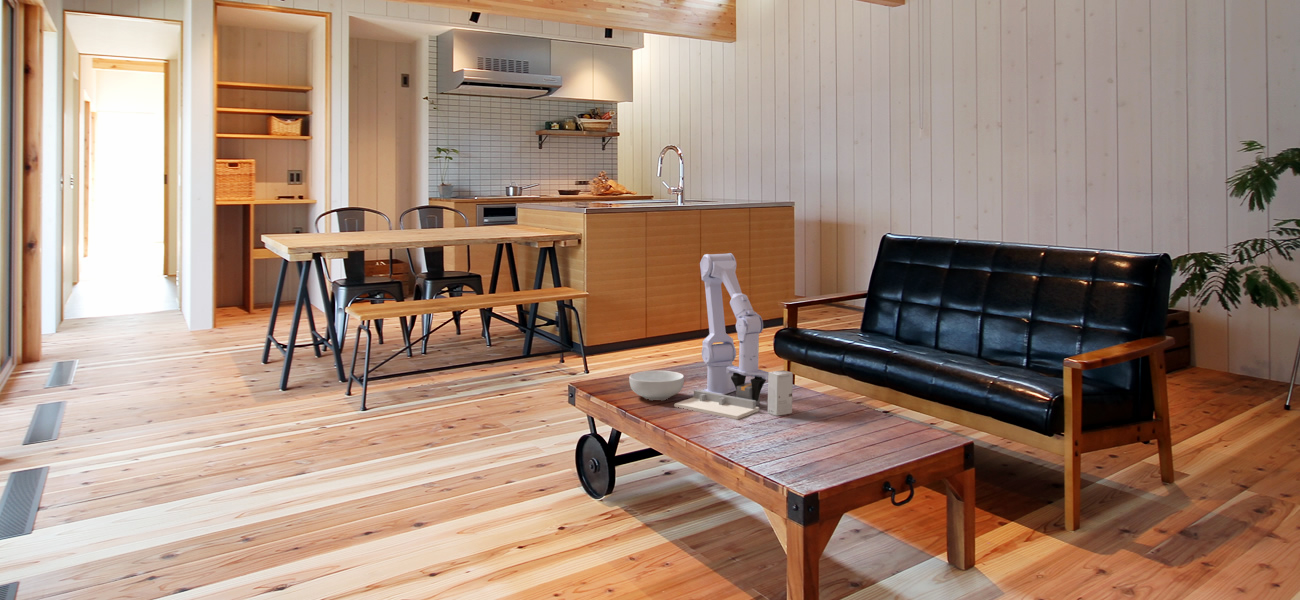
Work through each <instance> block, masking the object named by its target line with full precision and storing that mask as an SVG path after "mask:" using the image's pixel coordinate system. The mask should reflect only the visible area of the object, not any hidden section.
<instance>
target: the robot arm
mask: <svg viewBox="0 0 1300 600" xmlns="http://www.w3.org/2000/svg"><path fill="white" fill-rule="evenodd" d="M737 265H738V264H737V259H736V258H735V255H734V254H733V253H731V252H729V253H715V254H714V253H712V254H711V253H710V254H709V253H706V254H705V253H704V255H703V256H702V258H701V260H700V262H699V267H700V276H701V281H703V283H704V288H705V289H704V291H705V299H706V311H707V321H708V332H709V333H708V335H707V336H706V337H705V338H704V339H703V340H702V349H701V357H702V360H703V363H704V364H705V365H707V366H706V367H707V369H706V370H707V374H706V375H707V376H706V380H707V381H706V382H707V383H706V384H707V385H706V386H707V388H704V389H701V391H706V392H712V393H717V394H723V395H727V394H730V393H733V392H737V386H739V385H742V384H745V383H746V379H747V377H752V378H750V383H751V384H752V399H753V400H755V401H758V399H759V395H760V396H761V391H762V389H763V386H764V385H765V383H766V381H768V373H769V372H770V371H765V370H763V369H759V350H760V349H759V347H760V343H759V341H760V334H761V333H762V332H763V329H764V321H763V318H762V316H761V315H760V314H758V313H757V312H756V311H754V308H753V306H752V304H751V302H750V300H749V297H748V295H747V294H745V293H742V292H743V291H742V289H741V285H740V282H739V280H738V278H737V277H738V276H737V273H736V270H737ZM722 283H723V285H724V287H725V289H726V291H727V292H728V294H729V296H730V298H731V299H730V301H729V306H730V307H731V310H732V313H733V314H734V317H735V319H736V321H735V322H736V323H735V329H736V332H737V333H736V334H737V339H738V341H739V347H738V348H739V349H738V350H739V353H738V361H739V362H738V366H735V365H734V364H733V362H734V361H735V359H736V357H737V349H736V346H735V343H734V339H733V337H732V336H730V335H729V334H727V333H726V332H727V331H726V322H725V321H726V320H725V312H724V301H723V292H722V291H723V290H722Z"/></svg>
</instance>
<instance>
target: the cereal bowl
mask: <svg viewBox="0 0 1300 600" xmlns="http://www.w3.org/2000/svg"><path fill="white" fill-rule="evenodd" d="M628 379H629V380H628V381H629V385H630V389H631V390H632V391H633V392H634V393H635V394H636V395H637V396H641V397H642V398H643V399H645V400H647V399H649V400H648V401H653V400H661V401H665V400H666V399H667V400H669V399H670V398H671V397H673V396H676V395H677V394H679V393H680V392H681V391H682V389H683V388H684V385H685V384H684V383H685V376H684V374H683V373H680V372H677V371H670V370H642V371H639V372H638V371H637V372H634V373H631V374H630V375H629V377H628ZM668 398H669V399H668Z"/></svg>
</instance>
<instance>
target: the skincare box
mask: <svg viewBox="0 0 1300 600" xmlns="http://www.w3.org/2000/svg"><path fill="white" fill-rule="evenodd" d="M768 372H769V373H768V380H767V413H768V414H769V415H771V416H775V417H778V416H784V415H788V414H789V415H790V414H792V413H793V381H794V379H793V378H794V377H793V375H794V374H793V372H792V371H788V370H783V369H782V370H774V371H768Z"/></svg>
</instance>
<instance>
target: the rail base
mask: <svg viewBox="0 0 1300 600" xmlns="http://www.w3.org/2000/svg"><path fill="white" fill-rule="evenodd" d="M674 407H675V408H678V407H679V408H678V409H683V408H684V410H687V409H688V410H689V411H692V410H693V412H698V413H702V414H703V413H704V414H709V415H711V416H712V415H713V416H717V417H723V418H727V419H733V420H739V419H742V418H744V417H746V416H749V415H752V414H754V413H757V412H759V411H760V407H759V406H757V405H756V401H755V400H750V399H744V398H739V397H736V396H732V395H727V394H725V395H723V394H717V393H712V392H706V391H702V389H701V390H700V389H695V390H693V397H690V398H688V399H687V398H686V399H684V400H681V401H679V402H676V403H674Z"/></svg>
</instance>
